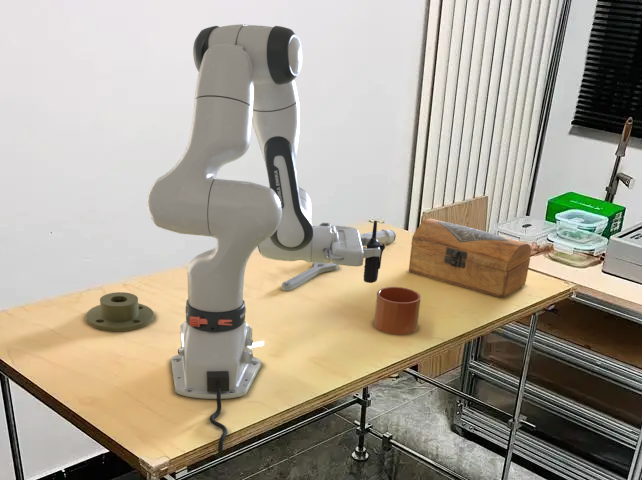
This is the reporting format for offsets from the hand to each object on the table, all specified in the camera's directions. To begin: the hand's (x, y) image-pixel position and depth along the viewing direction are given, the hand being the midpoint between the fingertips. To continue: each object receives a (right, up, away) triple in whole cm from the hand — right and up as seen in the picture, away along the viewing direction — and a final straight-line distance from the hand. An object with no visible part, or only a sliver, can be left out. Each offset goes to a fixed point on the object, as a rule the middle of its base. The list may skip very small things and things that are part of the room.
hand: (379, 247), depth 199 cm
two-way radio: (-2, -8, +4) cm, 9 cm away
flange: (-61, -19, -11) cm, 64 cm away
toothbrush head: (-3, +8, +45) cm, 46 cm away
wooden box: (+25, -3, +29) cm, 39 cm away
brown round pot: (+4, -20, -3) cm, 20 cm away
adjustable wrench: (-19, -4, +22) cm, 29 cm away
